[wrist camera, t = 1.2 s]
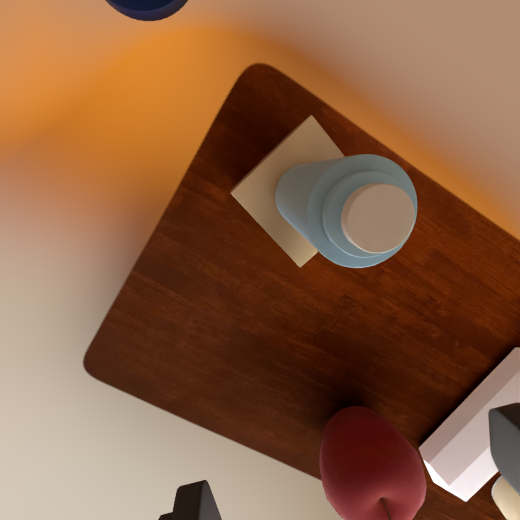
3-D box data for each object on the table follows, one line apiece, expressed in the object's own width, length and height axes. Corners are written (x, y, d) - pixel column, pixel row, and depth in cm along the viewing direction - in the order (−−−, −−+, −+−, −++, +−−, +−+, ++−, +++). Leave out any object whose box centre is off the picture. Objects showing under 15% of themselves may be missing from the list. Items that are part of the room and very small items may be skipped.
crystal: (466, 505, 46) (595, 382, 42) (452, 514, 41) (595, 376, 37) (423, 456, 51) (533, 343, 47) (406, 458, 47) (526, 333, 43)
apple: (404, 424, 47) (468, 520, 34) (340, 469, 48) (377, 577, 35) (357, 370, 44) (407, 452, 31) (290, 419, 45) (311, 517, 32)
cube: (232, 188, 37) (230, 192, 27) (291, 130, 35) (311, 114, 26) (284, 244, 39) (300, 267, 29) (342, 192, 37) (378, 198, 28)
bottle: (262, 194, 27) (289, 216, 13) (308, 150, 26) (394, 120, 12) (302, 238, 28) (369, 305, 14) (348, 197, 28) (468, 222, 13)
